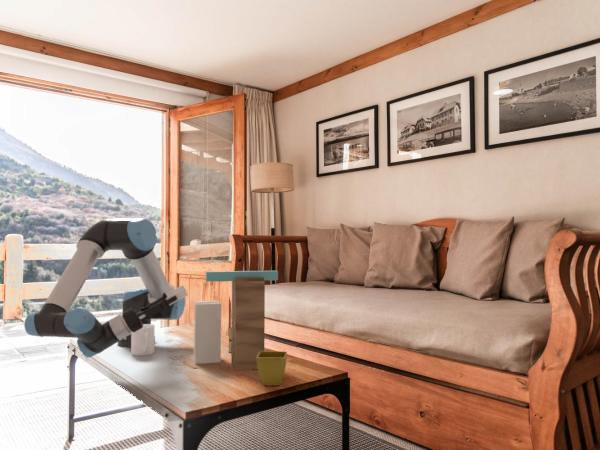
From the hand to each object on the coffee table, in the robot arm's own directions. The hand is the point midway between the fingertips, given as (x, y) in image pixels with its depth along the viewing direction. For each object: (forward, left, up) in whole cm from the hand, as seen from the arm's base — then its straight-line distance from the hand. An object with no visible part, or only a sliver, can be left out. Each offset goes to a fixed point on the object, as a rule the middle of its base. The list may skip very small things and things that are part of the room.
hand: (185, 289), depth 159 cm
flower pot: (+22, +25, -28) cm, 43 cm away
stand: (0, +21, -27) cm, 35 cm away
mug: (-28, -15, -28) cm, 42 cm away
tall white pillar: (-12, +8, -27) cm, 31 cm away
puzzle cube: (-22, +24, -28) cm, 43 cm away
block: (0, +19, +3) cm, 20 cm away
